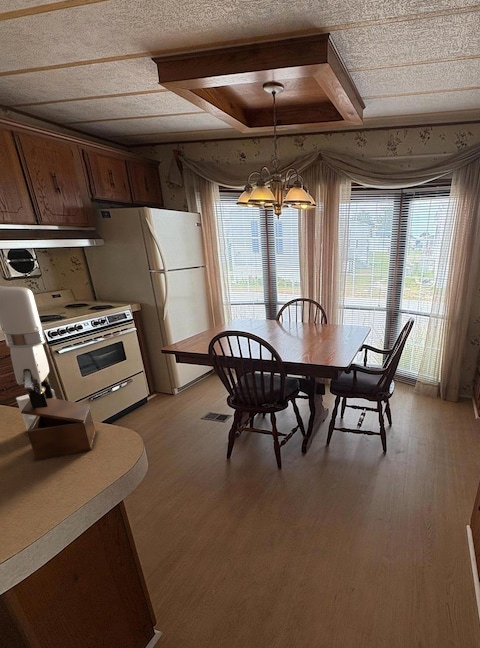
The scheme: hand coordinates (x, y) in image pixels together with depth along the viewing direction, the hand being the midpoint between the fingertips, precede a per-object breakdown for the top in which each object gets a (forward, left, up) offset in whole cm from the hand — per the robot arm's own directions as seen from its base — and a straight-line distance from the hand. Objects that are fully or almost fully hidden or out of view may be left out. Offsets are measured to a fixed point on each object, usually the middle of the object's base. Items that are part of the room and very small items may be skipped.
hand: (43, 402), depth 93 cm
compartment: (+3, +1, -14) cm, 15 cm away
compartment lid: (+2, +1, -3) cm, 4 cm away
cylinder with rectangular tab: (-8, +12, -15) cm, 20 cm away
